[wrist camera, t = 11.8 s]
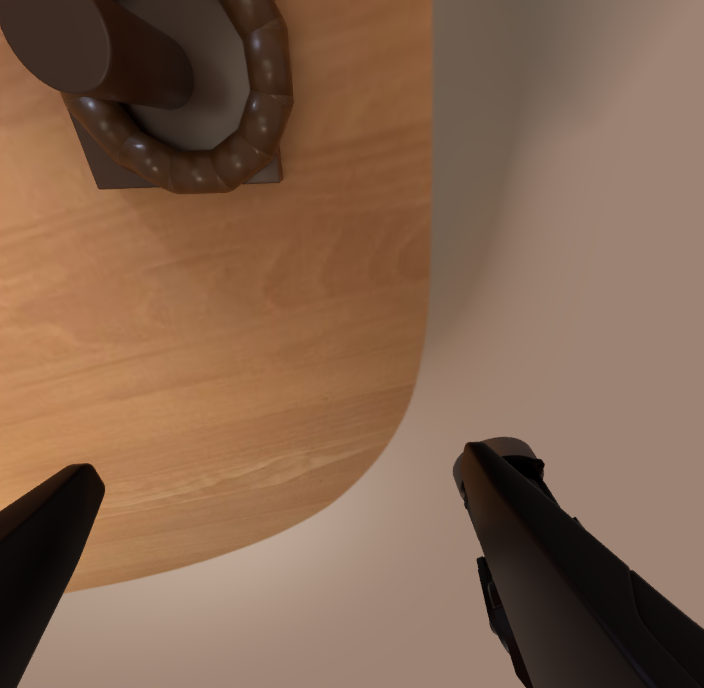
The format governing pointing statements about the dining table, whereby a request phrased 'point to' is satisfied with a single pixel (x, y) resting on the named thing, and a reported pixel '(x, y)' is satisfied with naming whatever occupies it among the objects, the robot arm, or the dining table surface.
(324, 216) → the dining table surface
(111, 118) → the ring
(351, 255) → the dining table surface
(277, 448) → the dining table surface
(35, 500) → the robot arm
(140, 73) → the stand
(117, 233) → the dining table surface
